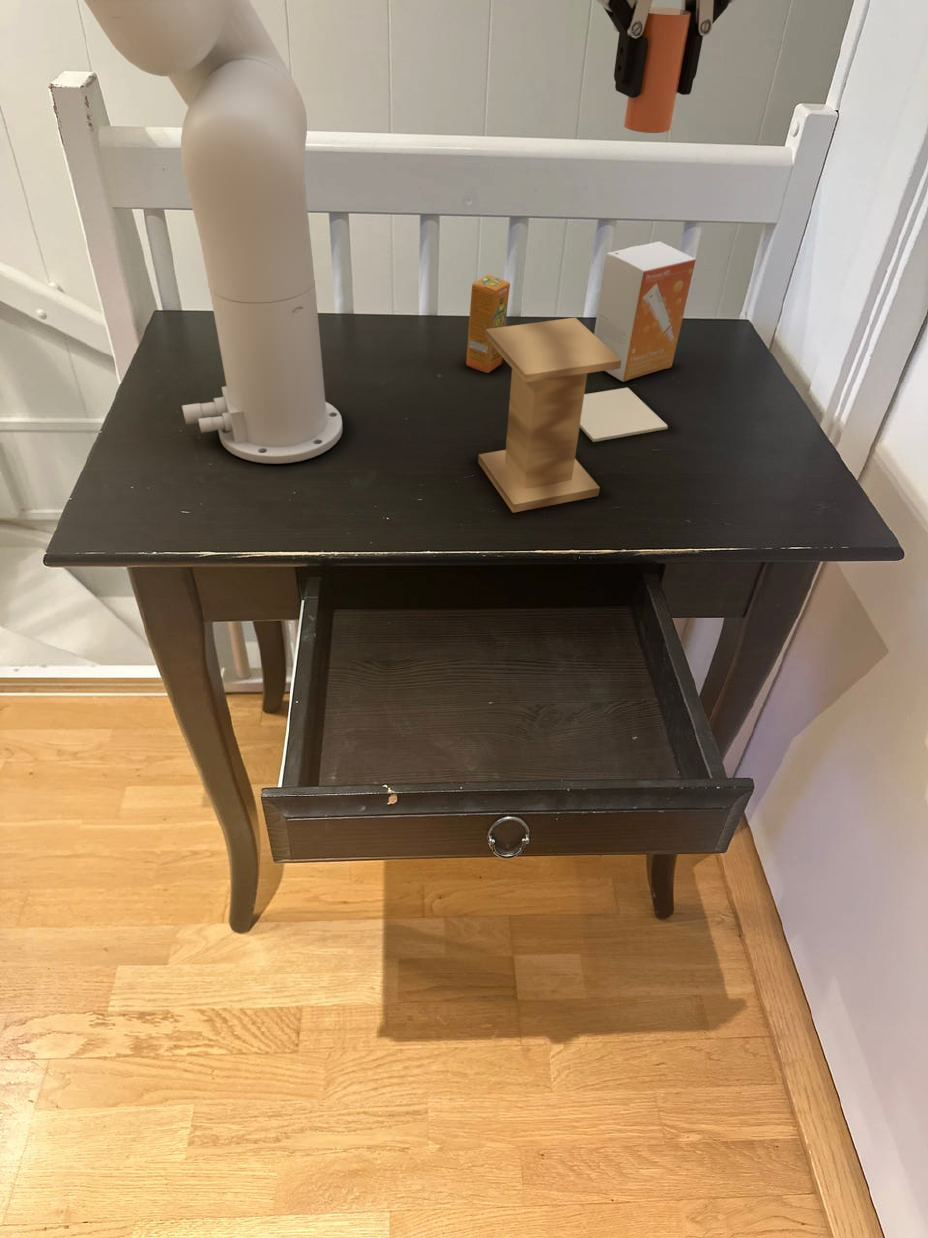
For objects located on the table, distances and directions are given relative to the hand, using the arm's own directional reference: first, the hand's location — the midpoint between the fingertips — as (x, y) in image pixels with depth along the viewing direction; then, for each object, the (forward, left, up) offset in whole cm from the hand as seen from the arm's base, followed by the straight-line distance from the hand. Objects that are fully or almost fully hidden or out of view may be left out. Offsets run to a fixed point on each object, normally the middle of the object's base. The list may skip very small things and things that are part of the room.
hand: (652, 89), depth 69 cm
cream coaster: (+2, +2, -31) cm, 32 cm away
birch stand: (-11, -7, -31) cm, 34 cm away
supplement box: (-7, +17, -32) cm, 36 cm away
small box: (+10, +12, -32) cm, 35 cm away
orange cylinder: (0, 0, -3) cm, 3 cm away
